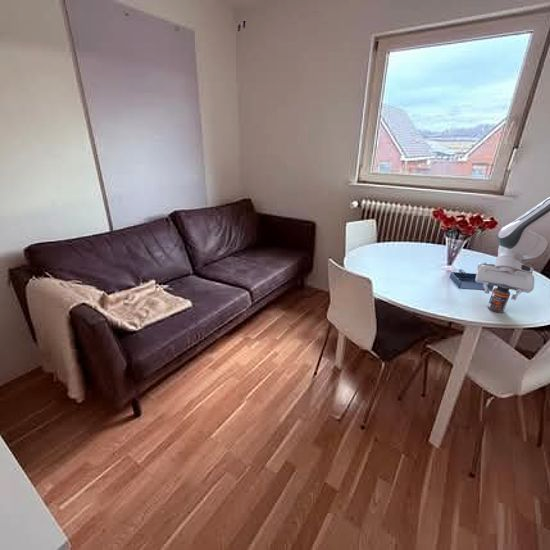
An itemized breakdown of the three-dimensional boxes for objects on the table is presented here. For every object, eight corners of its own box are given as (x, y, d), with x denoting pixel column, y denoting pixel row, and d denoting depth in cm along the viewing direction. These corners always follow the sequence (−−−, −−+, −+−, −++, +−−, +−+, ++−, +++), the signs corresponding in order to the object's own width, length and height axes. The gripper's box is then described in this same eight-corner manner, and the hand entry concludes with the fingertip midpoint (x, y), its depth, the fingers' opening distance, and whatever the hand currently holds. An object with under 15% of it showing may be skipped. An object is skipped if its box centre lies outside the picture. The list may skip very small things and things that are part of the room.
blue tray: (491, 290, 149) (494, 284, 147) (458, 288, 150) (460, 282, 149) (473, 274, 166) (475, 268, 165) (444, 271, 168) (446, 266, 167)
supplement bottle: (486, 310, 132) (495, 286, 127) (487, 304, 136) (495, 281, 131) (503, 314, 129) (512, 290, 124) (503, 308, 133) (512, 285, 129)
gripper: (480, 258, 135) (472, 286, 132) (538, 269, 126) (532, 300, 122) (477, 264, 141) (470, 292, 137) (533, 275, 131) (527, 305, 128)
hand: (499, 296), depth 130 cm, fingers open, 8 cm apart
